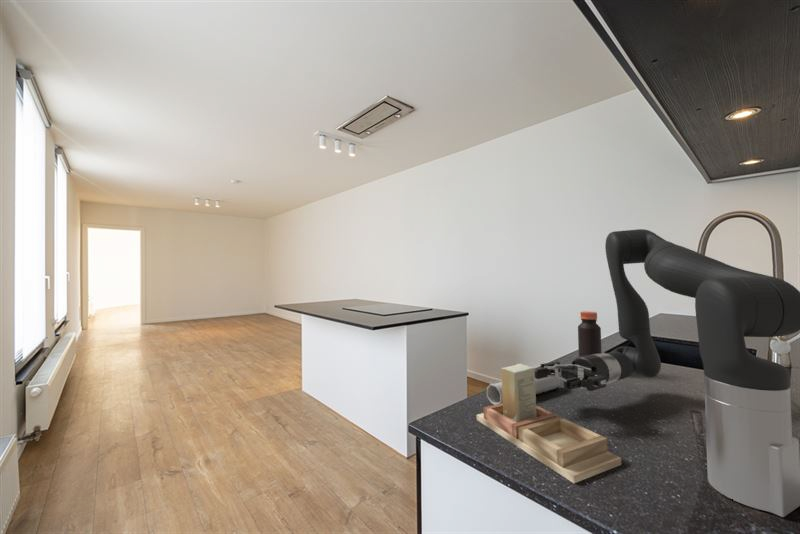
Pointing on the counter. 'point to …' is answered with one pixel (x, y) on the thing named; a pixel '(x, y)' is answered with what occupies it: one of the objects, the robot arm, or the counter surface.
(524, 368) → the skincare box
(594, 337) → the vinegar
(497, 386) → the tube
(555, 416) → the two-compartment wooden tray
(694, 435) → the counter surface
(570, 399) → the counter surface
